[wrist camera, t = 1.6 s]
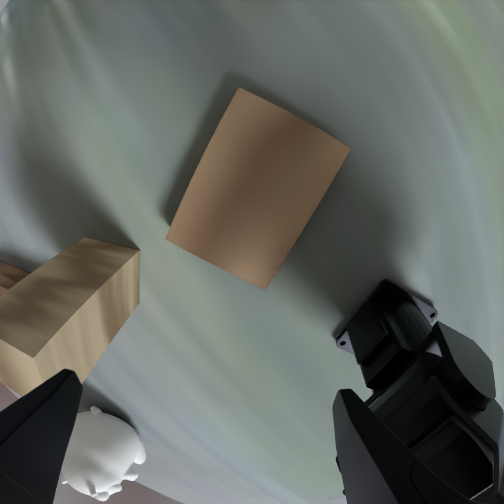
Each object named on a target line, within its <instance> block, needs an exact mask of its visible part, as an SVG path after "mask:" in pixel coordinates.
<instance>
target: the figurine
mask: <svg viewBox="0 0 504 504" xmlns="http://www.w3.org/2000/svg"><path fill="white" fill-rule="evenodd" d="M90 410H91V411H84V412H81V413H79V414H77V417H76V421H75V425H74V428H73V431H72V435H71V438H70V441H69V444H68V447H67V451H66V454H65V457H64V461H63V465H62V468H61V470H62V473H63V475H64V477H62V478H61V479H60V480H61V483H62V484H65V483H69V484H70V485H71V486H72V487H73V488H75V489H76V490H77V491H79V492H81V493H84V494H87V495H90V496H92V497H95V498H96V499H97V500H100V501H106V500H107V499H108V497H109V495H111V494H113V493H115V492H118V491H121V489H122V487H121V485H120V483H121V481H122V480H124V479H127V480H130V481H134V480H136V478H137V477H138V472H137V471H136V470H135V469H132V468H131V466H132V464H133V462H134V463H136V464H141V463H143V462H144V461H145V459H146V453H145V449H144V446H143V442H142V440H141V438H140V437H139V436H138V435H137V433H136V432H135V430H134V429H133V428H132V427H131V426H130V425H128V424H127V423H126V422H124V421H123V420H121V419H119V418H117V417H115V416H112V415H110V414H107V413H103V412H102V411H101V410H100V409H99V408H97V407H95V406H92V407H91V408H90Z"/></svg>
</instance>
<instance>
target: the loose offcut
mask: <svg viewBox="0 0 504 504" xmlns="http://www.w3.org/2000/svg"><path fill="white" fill-rule="evenodd" d="M350 150H351V148H350V147H348V146H346V145H345V144H343V143H342V142H340V141H339V140H337V139H335V138H334V137H332V136H330V135H329V134H327V133H325V132H324V131H322V130H320V129H319V128H317V127H315V126H313V125H312V124H310V123H308V122H306V121H305V120H303V119H301V118H299V117H297V116H296V115H294V114H292V113H290V112H288V111H286V110H284V109H282V108H281V107H279V106H277V105H275V104H273V103H271V102H269V101H267V100H265V99H263V98H261V97H258V96H256V95H254V94H252V93H250V92H248V91H246V90H244V89H241V88H238V90H237V92H236V93H235V95H234V97H233V99H232V100H231V102H230V104H229V106H228V108H227V110H226V111H225V113H224V115H223V117H222V119H221V121H220V123H219V125H218V127H217V128H216V130H215V132H214V134H213V136H212V138H211V140H210V142H209V144H208V146H207V148H206V150H205V152H204V154H203V156H202V158H201V160H200V162H199V164H198V166H197V169H196V171H195V173H194V175H193V177H192V179H191V181H190V183H189V186H188V188H187V190H186V192H185V194H184V197H183V199H182V201H181V203H180V206H179V208H178V210H177V213H176V215H175V217H174V220H173V222H172V224H171V227H170V229H169V231H168V234H167V236H166V239H165V240H167V241H169V242H171V243H173V244H175V245H177V246H179V247H181V248H183V249H185V250H187V251H188V252H190V253H192V254H194V255H196V256H198V257H200V258H202V259H204V260H206V261H208V262H210V263H212V264H214V265H216V266H218V267H220V268H222V269H224V270H226V271H228V272H229V273H231V274H233V275H235V276H237V277H239V278H241V279H243V280H245V281H247V282H249V283H251V284H253V285H256V286H258V287H260V288H262V289H264V290H266V288H267V287H268V285H269V284H270V282H271V281H272V279H273V277H274V276H275V274H276V273H277V271H278V270H279V268H280V266H281V265H282V263H283V262H284V260H285V258H286V257H287V255H288V254H289V252H290V250H291V249H292V247H293V245H294V244H295V242H296V241H297V239H298V237H299V236H300V234H301V232H302V231H303V229H304V228H305V226H306V224H307V223H308V221H309V219H310V218H311V216H312V214H313V213H314V211H315V209H316V208H317V206H318V204H319V203H320V201H321V199H322V198H323V196H324V194H325V193H326V191H327V189H328V188H329V186H330V184H331V183H332V181H333V179H334V177H335V176H336V174H337V172H338V171H339V169H340V167H341V165H342V164H343V162H344V160H345V159H346V157H347V155H348V153H349V152H350Z"/></svg>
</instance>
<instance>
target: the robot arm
mask: <svg viewBox="0 0 504 504" xmlns="http://www.w3.org/2000/svg"><path fill="white" fill-rule="evenodd" d="M386 285H389V286H388V287H387V288H384V287H385V286H386ZM431 313H432V314H431ZM437 314H438V313H437V310H436V309H435V308H434V307H432V306H431V305H429V304H428V303H426V302H425V301H423V300H421V299H420V298H418V297H417V296H415V295H413V294H412V293H410V292H409V291H407V290H405V289H404V288H402V287H401V286H399V285H397V284H396V283H394V282H392V281H391V280H389V279H385V280H383V281H382V282H381V283H380V284H379V285H378V287H377V288H376V290H375V291H374V292H373V294H372V295H371V296H370V298H369V299H368V300H367V301H365V302H364V304H363V305H362V306H361V308H360V309H359V310H358V311H357V313H356V314H355V315H354V316H353V318H352V319H351V320H350V321H349V323H348V324H347V325H346V328H345V329H344V330H343V332H342V333H341V334H340V335H339V336H338V338H337V339H336V345H337V347H339V348H341V349H343V350H345V351H348V352H350V353H353V354H354V355H355V358H356V361H357V363H358V364H359V365H360V367H361V370H362V374H363V377H364V380H365V384H366V387H368V388H370V389H372V392H373V395H372V396H371V397H370V398H369V399H368V400H366V401H365V402H363V401H362V400H361V399H360V398H359V396H358V395H357V394H356V393H355V392H354V391H353V390H352V389H340V390H338V392H337V395H336V397H335V400H334V403H333V419H334V430H335V441H336V450H337V456H336V462H337V465H338V468H339V471H340V473H341V474H342V479H343V484H344V490H343V494H344V495H346V499H347V504H504V412H503V410H502V408H501V406H500V405H499V404H498V403H497V401H496V400H495V399H494V398H495V397H496V390H495V381H494V373H493V365H492V361H491V360H490V359H489V357H488V356H487V355H486V354H485V353H484V352H483V350H482V349H481V348H480V347H479V346H478V345H477V344H476V343H475V342H474V341H473V340H471V339H470V338H468V337H466V336H464V335H463V334H461V333H459V332H457V331H456V330H454V329H452V328H450V327H448V326H447V325H445V324H443V323H441V322H439V321H437V322H436V323H435V324H434V326H433V327H432V325H431V323H432V322H433V320H434V319H435V318H436V316H437ZM341 341H344V342H343V343H340V342H341ZM82 391H83V387H82V384H81V382H80V380H79V378H78V376H77V374H76V372H75V371H74V370H70V369H63V370H61V371H60V372H58V373H57V374H55V375H54V376H52V377H51V378H49V379H48V380H46V381H45V382H43V383H42V384H40V385H39V386H37V387H36V388H34V389H33V390H32V391H30V392H29V393H27V394H26V395H24V396H23V397H21V398H20V399H18V400H17V401H15V402H14V403H13V404H11V405H10V406H8V407H7V408H5V409H4V410H2V411H1V412H0V504H53V500H54V496H55V492H56V488H57V484H58V480H59V476H60V472H61V468H62V465H63V461H64V457H65V454H66V451H67V447H68V444H69V441H70V438H71V435H72V431H73V428H74V425H75V421H76V417H77V412H78V408H79V403H80V399H81V395H82Z"/></svg>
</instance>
